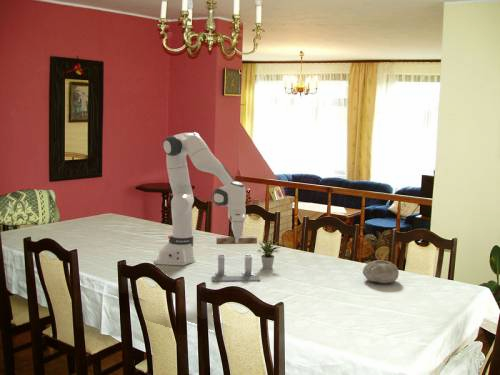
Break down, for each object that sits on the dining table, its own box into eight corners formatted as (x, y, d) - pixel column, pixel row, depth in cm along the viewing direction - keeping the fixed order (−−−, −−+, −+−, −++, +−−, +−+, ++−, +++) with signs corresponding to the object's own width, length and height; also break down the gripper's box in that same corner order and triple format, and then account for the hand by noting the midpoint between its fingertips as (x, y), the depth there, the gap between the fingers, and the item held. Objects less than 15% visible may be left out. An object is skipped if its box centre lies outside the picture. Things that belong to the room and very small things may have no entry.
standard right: (243, 276, 307) (244, 257, 306) (242, 272, 314) (243, 254, 312) (253, 276, 308) (253, 257, 306) (252, 272, 314) (252, 254, 313)
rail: (216, 244, 297) (216, 238, 296) (216, 242, 300) (216, 236, 299) (256, 243, 299) (256, 237, 298) (256, 242, 302) (256, 236, 301)
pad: (212, 281, 297) (212, 280, 297) (211, 277, 304) (211, 276, 304) (260, 281, 300) (260, 279, 300) (258, 276, 307) (258, 275, 307)
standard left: (216, 276, 306) (216, 257, 304) (215, 272, 312) (216, 254, 311) (226, 276, 306) (226, 257, 305) (225, 272, 313) (225, 254, 311)
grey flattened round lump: (391, 289, 292) (392, 269, 290) (357, 282, 301) (357, 263, 299) (402, 280, 307) (404, 261, 305) (369, 274, 316) (370, 255, 314)
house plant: (260, 272, 314) (261, 242, 312) (248, 265, 326) (249, 236, 324) (283, 269, 321) (284, 239, 318) (271, 263, 333) (272, 234, 331)
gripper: (229, 210, 307) (228, 237, 309) (231, 218, 287) (231, 246, 289) (241, 210, 308) (240, 237, 310) (245, 218, 288) (244, 246, 290)
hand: (236, 241), depth 299 cm, fingers closed on rail, 3 cm apart
